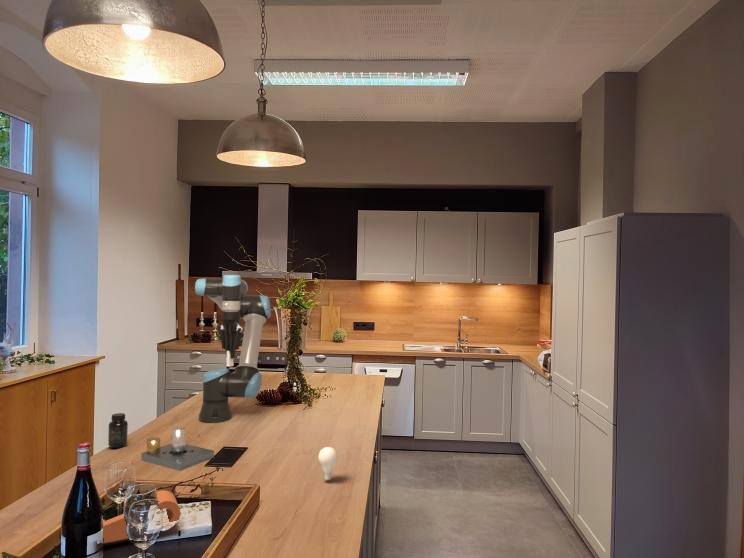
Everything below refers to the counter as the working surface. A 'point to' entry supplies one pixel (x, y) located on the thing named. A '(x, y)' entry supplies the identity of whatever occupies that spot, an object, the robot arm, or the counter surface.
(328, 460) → the lightbulb
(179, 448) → the rounded peg
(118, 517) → the crank
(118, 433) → the supplement bottle
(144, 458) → the plate
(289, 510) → the counter surface
